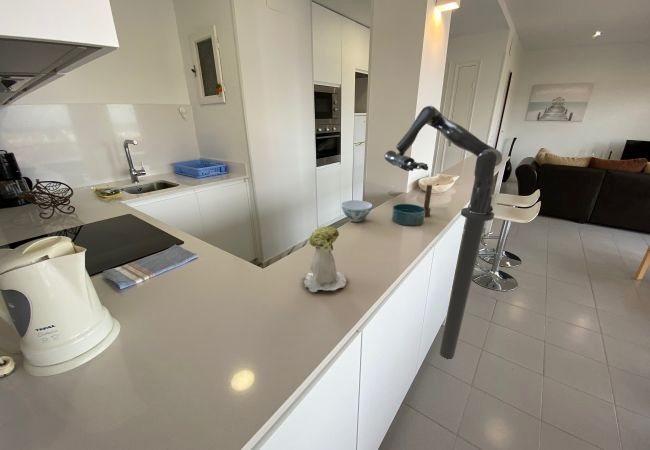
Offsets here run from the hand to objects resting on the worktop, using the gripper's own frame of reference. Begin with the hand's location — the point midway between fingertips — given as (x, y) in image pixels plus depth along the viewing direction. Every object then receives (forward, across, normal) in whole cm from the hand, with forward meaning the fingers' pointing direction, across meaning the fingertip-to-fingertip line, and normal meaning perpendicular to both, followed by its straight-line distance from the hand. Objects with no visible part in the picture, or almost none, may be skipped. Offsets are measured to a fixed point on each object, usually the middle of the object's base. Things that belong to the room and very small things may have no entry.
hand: (420, 168), depth 146 cm
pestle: (+11, 0, +22) cm, 25 cm away
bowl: (+17, -13, +22) cm, 31 cm away
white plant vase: (+61, -65, +21) cm, 92 cm away
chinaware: (+9, -37, +23) cm, 45 cm away
